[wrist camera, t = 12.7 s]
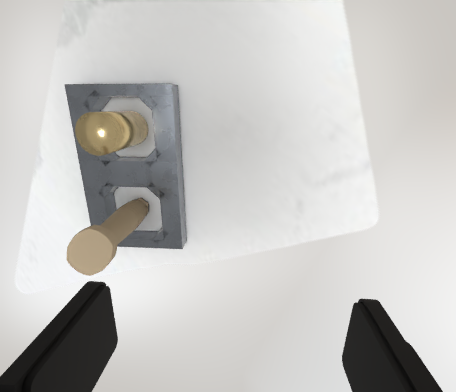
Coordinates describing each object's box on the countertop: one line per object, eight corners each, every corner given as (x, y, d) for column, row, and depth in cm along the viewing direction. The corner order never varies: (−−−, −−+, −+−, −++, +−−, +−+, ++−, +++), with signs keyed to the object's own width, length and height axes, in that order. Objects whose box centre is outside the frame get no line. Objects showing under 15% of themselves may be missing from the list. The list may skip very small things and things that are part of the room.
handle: (119, 210, 45) (58, 258, 30) (139, 183, 43) (84, 221, 29) (142, 227, 45) (93, 282, 31) (162, 201, 43) (121, 246, 29)
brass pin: (114, 111, 39) (71, 112, 30) (146, 111, 39) (113, 112, 29) (118, 144, 41) (79, 155, 31) (149, 144, 41) (119, 155, 31)
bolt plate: (78, 86, 38) (64, 84, 36) (177, 85, 37) (171, 83, 35) (104, 237, 47) (94, 245, 44) (186, 240, 45) (182, 249, 43)
